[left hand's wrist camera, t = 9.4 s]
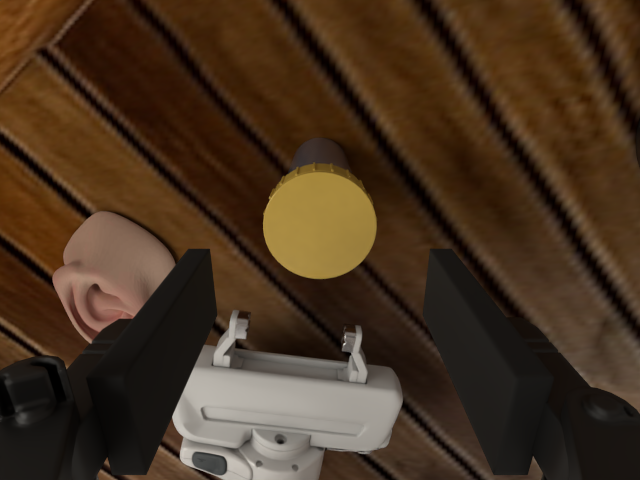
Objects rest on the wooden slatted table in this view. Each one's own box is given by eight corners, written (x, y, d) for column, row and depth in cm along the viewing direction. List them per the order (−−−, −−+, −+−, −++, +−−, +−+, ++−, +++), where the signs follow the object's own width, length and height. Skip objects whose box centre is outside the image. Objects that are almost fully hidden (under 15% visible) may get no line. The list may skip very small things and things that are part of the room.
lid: (288, 145, 20) (284, 152, 18) (389, 185, 21) (397, 196, 19) (254, 242, 22) (247, 258, 20) (347, 275, 23) (350, 294, 21)
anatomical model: (44, 211, 32) (183, 257, 33) (72, 198, 36) (196, 240, 37) (28, 339, 36) (151, 374, 38) (55, 316, 40) (166, 348, 42)
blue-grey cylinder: (303, 129, 34) (290, 164, 19) (356, 150, 34) (383, 199, 20) (284, 181, 35) (260, 250, 21) (335, 200, 36) (345, 280, 21)
